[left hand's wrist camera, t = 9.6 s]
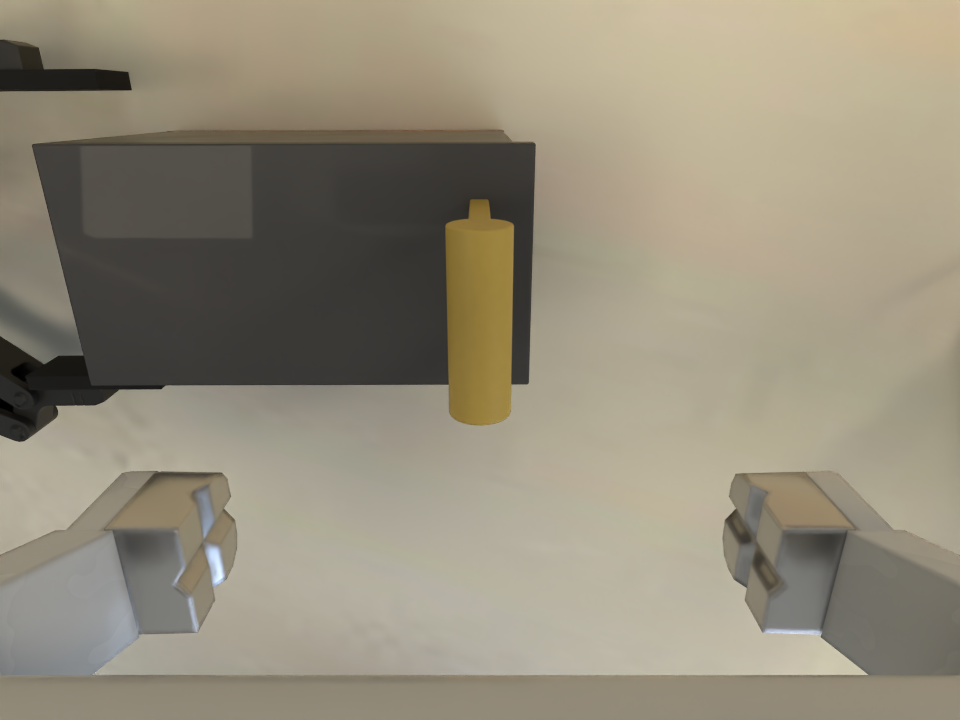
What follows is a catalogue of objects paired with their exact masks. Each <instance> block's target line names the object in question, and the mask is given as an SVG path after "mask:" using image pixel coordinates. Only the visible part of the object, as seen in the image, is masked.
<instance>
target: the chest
mask: <svg viewBox="0 0 960 720" xmlns="http://www.w3.org/2000/svg"><path fill="white" fill-rule="evenodd" d="M202 142H512V141H511V140H510V139H509V137H508V136H507V135H506V134H505V133H504V131H503V130H244V131H167V132H160V133H149V134H138V135H127V136H116V137H105V138H94V139H83V140H72V141H61V142H51V143H202Z"/></svg>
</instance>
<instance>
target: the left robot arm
mask: <svg viewBox="0 0 960 720" xmlns="http://www.w3.org/2000/svg"><path fill="white" fill-rule="evenodd" d="M230 497H231V494H230V489H229V484H228V479H227V478H226V477H225V476H224V475H223V474H222V473H212V472H158V471H131V472H125V473H122V474H121V475H120V476H119V477H118V478H117V479H116V480H115V481H114V482H113V483H112V484H111V485H110V486H109V487H108V488H107V489H106V490H105V491H104V492H103V493H102V494H101V495H100V496H99V497H98V498H97V499H96V500H95V501H94V502H93V503H92V504H91V505H90V506H89V507H88V508H87V509H86V510H85V511H84V512H83V513H82V514H81V516H80V517H79V518H78V519H77V520H76V521H75V522H74V523H73V524H72V525H71V526H70V527H69V528H68V529H67V530H57V531H53V532H51V533H49V534H46V535H44V536H42V537H40V538H37V539H35V540H33V541H31V542H29V543H26V544H24V545H22V546H20V547H17V548H15V549H13V550H11V551H8V552H6V553H4V554H2V555H0V720H960V555H958V554H956V553H954V552H951V551H949V550H947V549H945V548H942V547H940V546H938V545H936V544H934V543H931V542H929V541H927V540H925V539H922V538H920V537H918V536H916V535H914V534H911V533H909V532H907V531H903V530H893V529H892V528H891V527H890V526H889V525H888V524H887V523H886V522H885V521H884V520H883V518H882V517H881V516H880V515H879V514H878V513H877V512H876V511H875V510H874V509H873V508H872V507H871V506H870V505H869V504H868V503H867V502H866V501H865V500H864V499H863V498H862V497H861V496H860V495H859V494H858V493H857V492H856V491H855V490H854V489H853V488H852V487H851V486H850V485H849V484H848V483H847V482H846V481H845V480H844V479H843V478H842V477H841V476H840V475H839V474H838V473H835V472H832V471H812V472H780V473H742V474H735V476H734V478H733V481H732V483H731V488H730V493H729V497H730V499H731V501H732V502H733V504H734V505H735V507H736V509H735V510H734V511H733V512H732V514H731V515H730V516H729V517H728V518H727V519H726V520H725V524H724V531H723V548H724V557H725V560H726V563H727V567H728V569H729V571H730V573H731V575H732V577H733V579H734V580H735V581H737V582H738V583H740V584H742V585H743V586H745V587H746V588H747V590H746V596H745V601H746V603H747V605H748V607H749V609H750V611H751V612H752V614H753V616H754V618H755V620H756V622H757V623H758V625H759V627H760V629H761V631H762V633H790V634H821V638H823V639H824V640H825V641H826V642H828V643H829V644H830V645H832V646H833V647H834V648H835V649H837V650H838V651H839V652H840V653H842V654H843V655H844V656H845V657H847V658H848V659H849V660H851V661H852V662H853V663H854V664H856V665H857V666H858V667H859V668H861V669H862V670H863V671H864V672H866V673H867V674H868V675H92V674H93V673H94V672H96V671H97V670H98V669H100V668H101V667H102V666H103V665H105V664H106V663H107V662H108V661H110V660H111V659H112V658H113V657H115V656H116V655H117V654H119V653H120V652H121V651H122V650H124V649H125V648H126V647H127V646H129V645H130V644H131V643H133V642H134V641H135V640H136V639H138V638H139V634H169V633H198V631H199V629H200V627H201V625H202V623H203V622H204V620H205V618H206V616H207V614H208V612H209V611H210V609H211V607H212V605H213V603H214V601H215V596H214V591H213V588H214V587H215V586H217V585H218V584H220V583H221V582H223V581H225V580H226V579H227V577H228V575H229V573H230V571H231V569H232V567H233V563H234V559H235V555H236V550H237V530H236V523H235V520H234V519H233V518H232V517H231V516H230V515H229V514H228V512H227V511H226V510H225V509H224V507H225V505H226V504H227V502H228V501H229V499H230Z"/></svg>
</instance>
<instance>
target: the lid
mask: <svg viewBox="0 0 960 720" xmlns="http://www.w3.org/2000/svg"><path fill="white" fill-rule="evenodd" d="M535 146H536V145H535V143H534V142H202V143H40V144H33V145H32V147H33V151H34V156H35V160H36V164H37V168H38V172H39V176H40V180H41V184H42V188H43V192H44V196H45V200H46V204H47V208H48V212H49V216H50V220H51V224H52V229H53V233H54V237H55V241H56V245H57V249H58V253H59V257H60V261H61V265H62V269H63V273H64V277H65V281H66V285H67V289H68V293H69V297H70V301H71V306H72V310H73V314H74V318H75V322H76V326H77V330H78V334H79V338H80V342H81V346H82V350H83V354H84V358H85V362H86V366H87V370H88V374H89V379H90V383H91V385H449V412H450V415H451V416H452V417H453V418H454V419H455V420H457V421H459V422H462V423H465V424H470V425H490V424H495V423H498V422H501V421H503V420H505V419H506V418H507V417H508V416H509V414H510V412H511V384H528V383H529V356H530V321H531V286H532V251H533V216H534V181H535Z"/></svg>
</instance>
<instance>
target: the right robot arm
mask: <svg viewBox="0 0 960 720" xmlns="http://www.w3.org/2000/svg"><path fill="white" fill-rule="evenodd" d="M100 90H132V89H131V84H130V78H129V73H128V72H121V71H110V70H99V69H43V64H42V60H41V56H40V52H39V48H38V47H35V46H33V45H30V44H27V43H23V42H16V41H8V40H0V91H100ZM164 386H165V385H91V383H90V379H89V374H88V370H87V366H86V362H85V358H84V356H58V357H56V358H54V359H53V360H51V361H49V362H48V363H46V364H43V363H41V362H40V361H38V360H36V359H35V358H33V357H32V356H30V355H29V354H27V353H25V352H24V351H22V350H21V349H19V348H18V347H16V346H15V345H13V344H11V343H10V342H8V341H7V340H5V339H4V338H2V337H0V435H1V436H4V437H7V438H9V439H12V440H14V441H19V442H21V441H25V440H27V439H28V438H30V437H31V436H32V435H34V434H35V433H36V432H38V431H39V430H40V429H42V428H43V427H45V426H46V425H47V424H49V423H50V422H51V421H53V420H54V419H55V418H56V417H57V415H58V410H57V407H56V406H66V405H97V404H100V403H102V402H104V401H106V400H107V399H108V398H109V397H111V396H112V395H113V394H114V393H116V392H117V391H118V389H162V388H163V387H164Z"/></svg>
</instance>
